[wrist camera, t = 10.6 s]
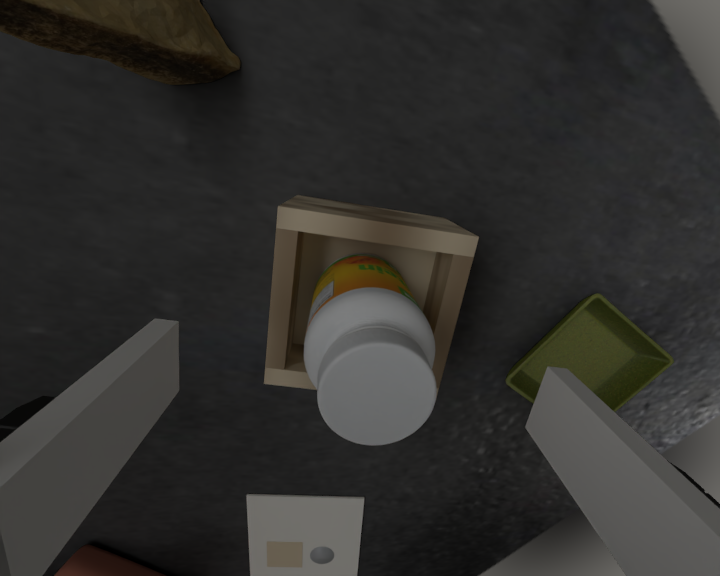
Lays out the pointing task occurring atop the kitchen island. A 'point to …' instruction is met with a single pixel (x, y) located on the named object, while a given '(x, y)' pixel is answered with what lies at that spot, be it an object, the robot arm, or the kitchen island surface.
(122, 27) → the rock
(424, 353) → the supplement bottle
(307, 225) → the wooden crate
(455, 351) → the kitchen island surface
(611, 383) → the green tray
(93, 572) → the teapot
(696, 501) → the robot arm
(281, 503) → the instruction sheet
